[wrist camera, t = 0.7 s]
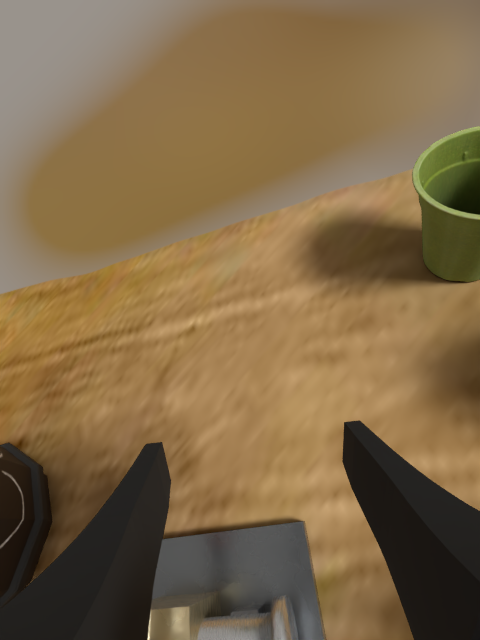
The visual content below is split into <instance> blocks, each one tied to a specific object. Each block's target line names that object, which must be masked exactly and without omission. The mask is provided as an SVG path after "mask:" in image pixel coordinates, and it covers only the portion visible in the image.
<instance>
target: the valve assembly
mask: <svg viewBox="0 0 480 640" xmlns="http://www.w3.org/2000/svg"><path fill="white" fill-rule="evenodd" d="M150 640H326V637H325V631H324V626H323V620H322V614H321V609H320V603H319V598H318V592H317V587H316V581H315V576H314V570H313V564H312V559H311V553H310V548H309V542H308V537H307V531H306V526H305V521H302V522H294V523H286V524H278V525H271V526H263V527H255V528H247V529H239V530H232V531H224V532H216V533H208V534H200V535H193V536H185V537H177V538H169V539H162V544H161V549H160V554H159V559H158V564H157V569H156V574H155V580H154V586H153V594H152V603H151V621H150Z"/></svg>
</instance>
